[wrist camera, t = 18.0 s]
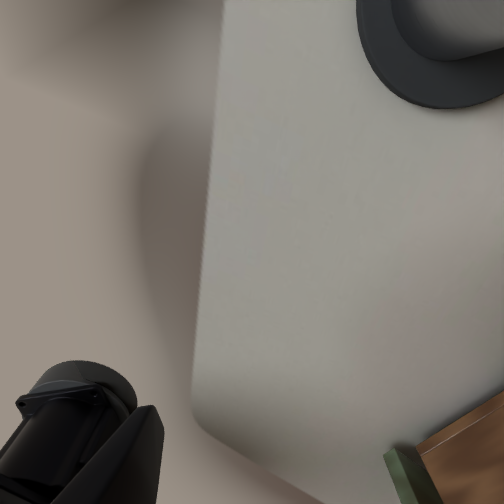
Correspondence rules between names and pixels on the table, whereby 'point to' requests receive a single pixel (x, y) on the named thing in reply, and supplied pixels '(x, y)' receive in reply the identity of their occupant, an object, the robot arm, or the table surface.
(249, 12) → the table surface
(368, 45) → the coaster
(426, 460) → the drawer
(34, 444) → the robot arm
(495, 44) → the cup
